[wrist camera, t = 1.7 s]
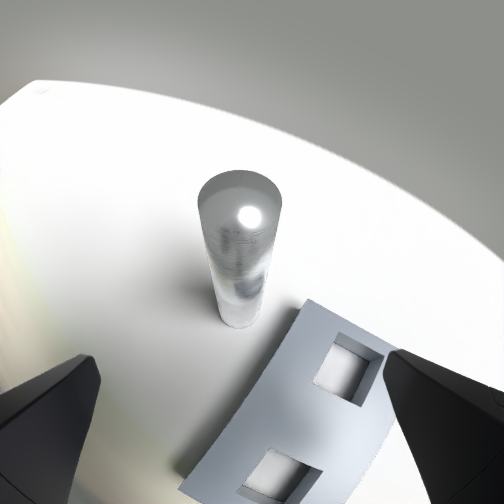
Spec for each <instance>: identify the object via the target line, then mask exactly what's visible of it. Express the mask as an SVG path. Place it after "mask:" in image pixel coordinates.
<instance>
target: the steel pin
mask: <svg viewBox="0 0 504 504" xmlns="http://www.w3.org/2000/svg"><path fill="white" fill-rule="evenodd" d="M281 207H282V197H281V194H280V192H279V190H278V188H277V187H276V185H275V184H274V183H273V182H272V181H271V180H270V179H268V178H267V177H265V176H263V175H261V174H258V173H256V172H252V171H246V170H233V171H227V172H224V173H221V174H218V175H216V176H214V177H213V178H211V179H210V180H209V181H208V182H206V184H205V185H204V186H203V187H202V189H201V191H200V193H199V196H198V210H199V215H200V221H201V226H202V231H203V236H204V241H205V247H206V252H207V257H208V261H209V266H210V271H211V276H212V280H213V285H214V290H215V294H216V299H217V303H218V308H219V312H220V316H221V318H222V320H223V321H224V322H225V323H226V324H227V325H229V326H230V327H233V328H246V327H248V326H250V325H251V324H253V323H254V322H255V321H256V319H257V317H258V314H259V310H260V305H261V301H262V296H263V292H264V287H265V283H266V278H267V274H268V269H269V264H270V260H271V255H272V250H273V245H274V241H275V236H276V231H277V226H278V221H279V217H280V212H281Z"/></svg>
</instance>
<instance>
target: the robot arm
mask: <svg viewBox="0 0 504 504" xmlns="http://www.w3.org/2000/svg"><path fill="white" fill-rule="evenodd" d="M383 380H384V382H385V385H386V388H387V391H388V394H389V397H390V400H391V403H392V407H393V410H394V412H395V415H396V418H397V420H398V422H399V425H400V427H401V429H402V431H403V434H404V436H405V438H406V441H407V443H408V445H409V448H410V450H411V453H412V455H413V457H414V460H415V462H416V465H417V467H418V470H419V472H420V475H421V478H422V480H423V483H424V486H425V488H426V491H427V494H428V496H429V499H430V502H431V504H504V392H502V391H499V390H497V389H494V388H492V387H488V386H487V385H484V384H482V383H480V382H477V381H475V380H472V379H470V378H468V377H465V376H463V375H461V374H458V373H456V372H454V371H451V370H449V369H447V368H444V367H442V366H440V365H437V364H435V363H433V362H431V361H428V360H426V359H424V358H421V357H419V356H417V355H415V354H412V353H410V352H408V351H406V350H404V349H397V350H392V351H390V352H389V354H388V357H387V360H386V363H385V366H384V369H383ZM100 384H101V377H100V374H99V371H98V368H97V365H96V363H95V360H94V358H93V357H92V356H90V355H85V354H80V355H78V356H76V357H74V358H72V359H70V360H68V361H66V362H64V363H62V364H60V365H58V366H56V367H54V368H52V369H50V370H48V371H46V372H44V373H43V374H41V375H39V376H37V377H35V378H33V379H31V380H29V381H27V382H25V383H23V384H21V385H19V386H17V387H15V388H13V389H11V390H9V391H7V392H5V393H3V394H1V395H0V504H67V502H68V498H69V494H70V490H71V486H72V482H73V478H74V475H75V471H76V468H77V464H78V461H79V457H80V454H81V451H82V448H83V445H84V441H85V438H86V435H87V432H88V430H89V427H90V423H91V420H92V416H93V412H94V408H95V403H96V399H97V395H98V391H99V388H100Z"/></svg>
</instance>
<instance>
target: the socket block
mask: <svg viewBox="0 0 504 504" xmlns="http://www.w3.org/2000/svg"><path fill="white" fill-rule="evenodd" d="M333 342H335V343H336V344H338V345H340V346H342V347H344V348H346V349H347V350H349V351H351V352H353V353H355V354H357V355H359V356H360V357H362V358H364V359H366V360H368V361H370V363H369V365H368V367H367V369H366V371H365V373H364V376H363V378H362V380H361V382H360V384H359V386H358V388H357V390H356V392H355V394H354V396H353V398H352V400H351V402H349V401H346V400H344V399H342V398H340V397H338V396H336V395H334V394H332V393H330V392H328V391H326V390H324V389H322V388H320V387H318V386H317V385H315V384H313V383H312V381H313V379H314V378H315V376H316V374H317V372H318V370H319V369H320V367H321V365H322V363H323V361H324V359H325V358H326V356H327V354H328V352H329V350H330V348H331V346H332V344H333ZM397 349H398V348H396V347H394V346H393V345H391V344H389V343H387V342H385V341H384V340H382V339H380V338H378V337H376V336H374V335H373V334H371V333H369V332H367V331H365V330H364V329H362V328H360V327H358V326H356V325H355V324H353V323H351V322H349V321H347V320H346V319H344V318H342V317H340V316H339V315H337V314H335V313H333V312H331V311H330V310H328V309H326V308H324V307H323V306H321V305H319V304H317V303H315V302H314V301H312V300H310V299H307V301H306V302H305V304H304V305H303V307H302V308H301V310H300V312H299V313H298V315H297V317H296V319H295V320H294V322H293V324H292V325H291V327H290V329H289V330H288V332H287V334H286V335H285V337H284V339H283V340H282V342H281V344H280V345H279V347H278V349H277V350H276V352H275V353H274V355H273V357H272V358H271V360H270V361H269V363H268V365H267V366H266V368H265V369H264V371H263V372H262V374H261V375H260V377H259V379H258V380H257V382H256V383H255V385H254V386H253V388H252V389H251V391H250V392H249V394H248V395H247V397H246V398H245V400H244V401H243V402H242V404H241V405H240V407H239V408H238V410H237V411H236V413H235V414H234V415H233V417H232V418H231V420H230V421H229V422H228V424H227V425H226V427H225V428H224V429H223V431H222V432H221V433H220V435H219V436H218V438H217V439H216V440H215V442H214V443H213V444H212V446H211V447H210V448H209V450H208V451H207V452H206V453H205V455H204V456H203V457H202V459H201V460H200V461H199V462H198V464H197V465H196V466H195V468H194V469H193V470H192V471H191V472H190V474H189V475H188V476H187V477H186V479H185V480H184V481H183V483H182V484H181V486H180V487H179V488H178V490H179V491H181V492H183V493H184V494H186V495H188V496H189V497H191V498H193V499H195V500H196V501H198V502H200V503H202V504H345V502H346V501H347V500H348V498H349V497H350V495H351V494H352V493H353V491H354V490H355V488H356V487H357V485H358V484H359V482H360V481H361V479H362V478H363V476H364V475H365V473H366V471H367V470H368V468H369V467H370V465H371V463H372V462H373V460H374V458H375V457H376V455H377V453H378V451H379V449H380V448H381V446H382V444H383V442H384V440H385V438H386V437H387V435H388V433H389V431H390V429H391V427H392V425H393V423H394V420H395V418H396V415H395V412H394V410H393V407H392V403H391V400H390V397H389V394H388V391H387V388H386V385H385V382H384V380H383V369H384V366H385V363H386V360H387V357H388V354H389V352H390V351H392V350H397ZM270 448H272V449H274V450H276V451H278V452H280V453H282V454H284V455H286V456H288V457H291V458H293V459H295V460H297V461H300V462H302V463H304V464H307V465H309V466H311V468H310V469H309V470H308V472H307V473H306V475H305V476H304V477H303V479H302V480H301V482H300V483H299V484H298V486H297V487H296V488H295V489H294V491H293V492H292V493H291V495H290V496H289V497H288V498H287V500H286V501H285V502H284V503H282V502H280V501H277V500H275V499H272V498H270V497H267V496H265V495H263V494H261V493H258V492H256V491H254V490H252V489H249V488H247V487H245V486H243V485H242V484H243V483H244V482H245V481H246V479H247V478H248V477H249V475H250V474H251V473H252V472H253V470H254V469H255V468H256V466H257V465H258V464H259V462H260V461H261V460H262V458H263V457H264V456H265V454H266V453H267V451H268V450H269V449H270Z"/></svg>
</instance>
